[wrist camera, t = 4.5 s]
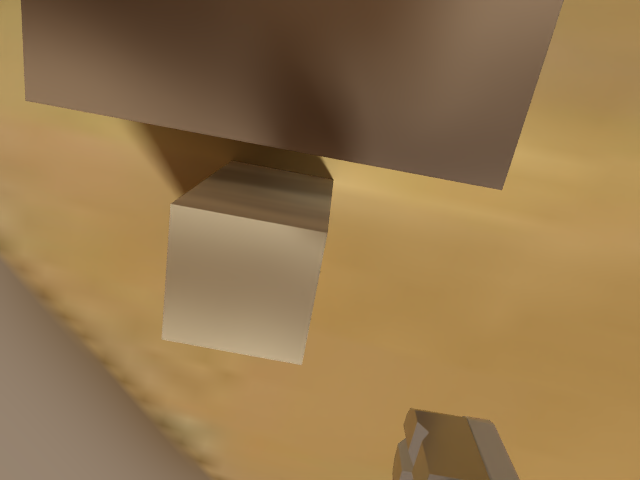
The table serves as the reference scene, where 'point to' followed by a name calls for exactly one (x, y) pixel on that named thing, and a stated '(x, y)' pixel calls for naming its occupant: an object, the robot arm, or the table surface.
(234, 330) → the beige block
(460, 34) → the lid
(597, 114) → the table surface
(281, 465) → the table surface
